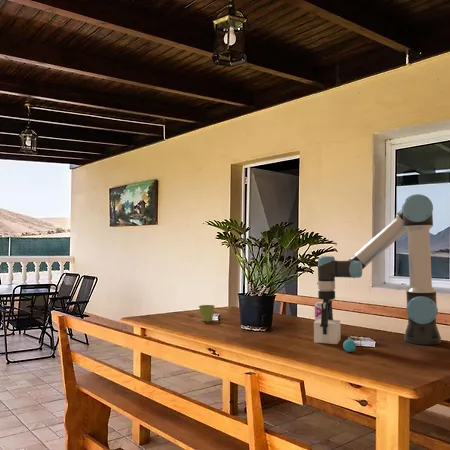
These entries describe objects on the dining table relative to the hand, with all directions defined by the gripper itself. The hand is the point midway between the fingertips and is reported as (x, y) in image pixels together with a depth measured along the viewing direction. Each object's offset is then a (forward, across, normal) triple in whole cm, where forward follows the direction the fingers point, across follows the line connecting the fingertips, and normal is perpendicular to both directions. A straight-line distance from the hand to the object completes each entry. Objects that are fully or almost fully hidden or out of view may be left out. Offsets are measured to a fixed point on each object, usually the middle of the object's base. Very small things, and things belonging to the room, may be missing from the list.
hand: (327, 339), depth 213 cm
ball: (-2, +18, +12) cm, 22 cm away
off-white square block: (+1, 0, 0) cm, 1 cm away
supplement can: (+1, -18, -5) cm, 19 cm away
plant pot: (+1, -31, -74) cm, 80 cm away
